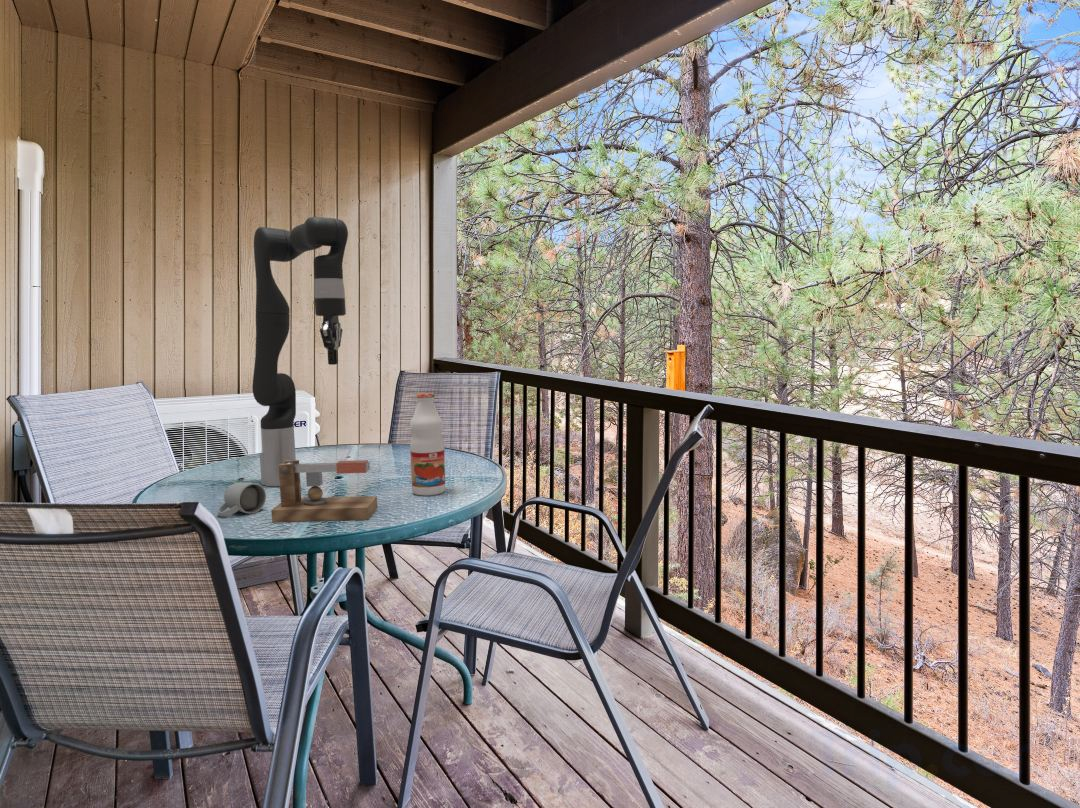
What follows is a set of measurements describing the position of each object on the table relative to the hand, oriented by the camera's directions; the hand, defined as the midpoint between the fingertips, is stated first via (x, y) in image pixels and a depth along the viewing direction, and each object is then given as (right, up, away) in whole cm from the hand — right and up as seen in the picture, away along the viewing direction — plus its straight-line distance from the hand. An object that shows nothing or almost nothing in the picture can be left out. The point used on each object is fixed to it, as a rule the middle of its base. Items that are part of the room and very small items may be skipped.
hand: (333, 364), depth 173 cm
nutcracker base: (0, -38, -7) cm, 39 cm away
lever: (+1, -31, -8) cm, 31 cm away
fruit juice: (+22, -35, +15) cm, 44 cm away
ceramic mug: (-23, -38, -3) cm, 45 cm away
